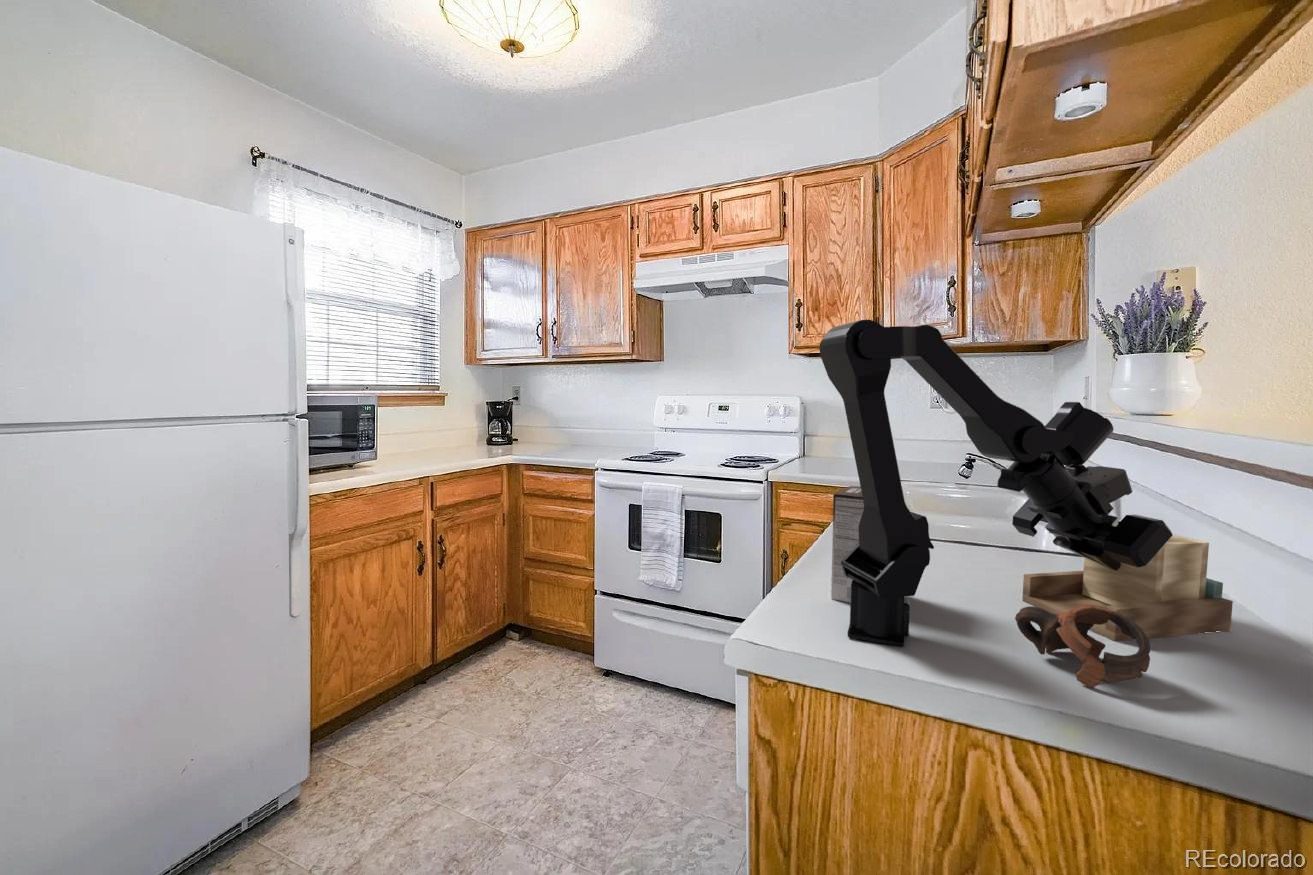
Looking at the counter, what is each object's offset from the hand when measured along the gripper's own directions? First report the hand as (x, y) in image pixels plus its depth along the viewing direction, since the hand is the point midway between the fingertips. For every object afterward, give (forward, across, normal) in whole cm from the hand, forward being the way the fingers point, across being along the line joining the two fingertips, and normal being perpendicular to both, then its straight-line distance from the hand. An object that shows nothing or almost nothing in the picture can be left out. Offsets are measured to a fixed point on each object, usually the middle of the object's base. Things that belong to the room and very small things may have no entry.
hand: (1116, 567), depth 77 cm
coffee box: (-16, +13, +27) cm, 34 cm away
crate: (+7, 0, +1) cm, 7 cm away
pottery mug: (-8, -12, +18) cm, 23 cm away
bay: (+5, 0, +5) cm, 7 cm away
